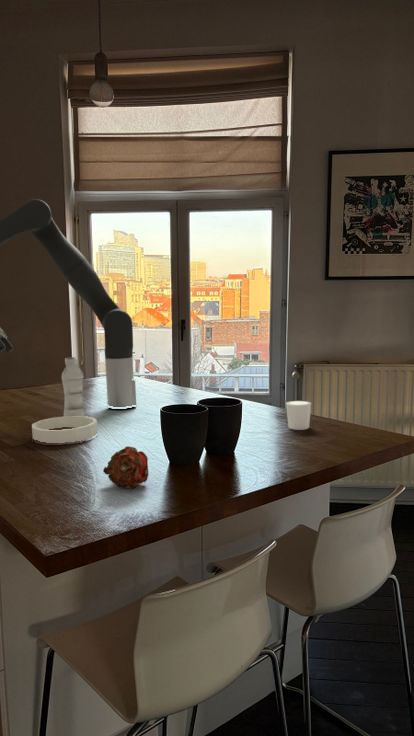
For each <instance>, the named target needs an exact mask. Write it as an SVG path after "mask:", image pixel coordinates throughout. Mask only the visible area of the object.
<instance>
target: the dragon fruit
mask: <svg viewBox="0 0 414 736" xmlns="http://www.w3.org/2000/svg"><path fill="white" fill-rule="evenodd" d="M148 461H149V459H148V455H146V453H144V451H138V449H137V448H136V447H134V446H130V445H129V446H125V447H124V448H122V449H120V450H119V451H116V452H115V453H113V455H112V456H111V457H110V460H109V461H108V462H107V465H106V466H104V468H103V473H104V475H107V476H108V479H109V481H111V483H113V484H114V485H116V486H117V487H122V488H124V489H130V490H133V489H135V488H136V487H137V486H138V485H141V484H143V483H144V484H145V483H146V482H147V480H148V478H149V464H148V463H149V462H148Z"/></svg>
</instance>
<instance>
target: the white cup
mask: <svg viewBox="0 0 414 736" xmlns="http://www.w3.org/2000/svg"><path fill="white" fill-rule="evenodd" d="M285 406H286V415H287V425H288V428H289V429H291V430H295V431H296V430H298V431H302V430H303V431H304V430H307V429H309V428H310V421H311V420H310V419H311V412H312V411H311V409H312V402H311V401H309V400H291V401H287V402H285Z"/></svg>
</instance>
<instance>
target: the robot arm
mask: <svg viewBox="0 0 414 736" xmlns="http://www.w3.org/2000/svg"><path fill="white" fill-rule="evenodd" d="M26 232H30V233H31V234H32V235H33V236H34V237H35V239H36V240H37V241H38V242H39V243H40V244H41V245H42V246H43V248H44V249H45V250H46V252H47V253H48V255H49V257H50V258H51V260H52V261H53V263H54V265H55V266H56V268H57V269H58V270H59V272H60V274H61V275H62V276H63V277H64V279H65V280H66V282H67V283H68V284H69V285H70V286H71V288H72V289H73V291H75V292H76V293H77V295H78V296H79V297H81V299H82V300H83V301H84V302H85V303H86V304H87V305H88V306H89V307H90V309H91V310H92V311H93V313H94V314H95V316H96V318H97V319H98V321H99V323H100V325H101V326H102V328H103V330H104V331H103V333H104V334H103V335H104V362H105V363H104V365H105V379H106V382H105V383H106V397H107V398H106V399H107V403H106V404H107V406H108V405H109V406H113V407H126V406H132V405H136V406H137V393H136V379H135V376H134V359H133V358H134V357H133V355H134V354H133V352H134V351H133V350H134V333H133V331H134V330H133V320H132V318H131V316H130V315H129V313H128V312H126V311H125V310H123V309H121V308H120V307H119V305H117V304H116V302H115V301H114V300H113V299H112V297H110V295H109V294H108V292H107V291H106V289H105V286H104V285H103V283H102V281H101V279H100V277H99V276H98V274H97V272H96V271H95V270H94V267H93V266H92V265H91V263H90V262H89V261H88V260H87V258H86V257H85V256H84V255H83V254H82V253H81V251H80V250H79V249H78V248H77V247H76V246H75V245H74V244H73V243H71V242H70V240H68V238H67V237H66V236H64V234H63V233H62V232H61V230H60V228H59V227H58V225H57V223H56V222H55V221H54V219H53V217H52V210H51V208H50V206H49V205H48V204H47V203H46V202H45V201H43V200H42V199H38V198H32V199H29V200H27V201H26V202H24V203H23V204H22V205H21V206H19V207H18V208H16V209H15V210H13V211H12V212H10V213H9V214H8V215H6V216H5V217H3V218H1V219H0V246H1V245H3V244H4V243H6V242H8V241H10V240H11V239H13V238H14V237H16V236H19V235H20V234H23V233H26ZM3 350H5V351H6V353H10V352H11V351H13V350H14V346H13V345H12V344H11V343H10V341H9V340H8V335H7V334H6V332H5V331H4V330H3V329H2V327H1V326H0V352H3Z"/></svg>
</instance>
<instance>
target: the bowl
mask: <svg viewBox="0 0 414 736" xmlns="http://www.w3.org/2000/svg"><path fill="white" fill-rule="evenodd" d="M62 427H74V428H72V429H62V430H49V429H54V428H62ZM31 431H32V435H31V436H32V440H33V439H34V440H38V441H40V442H46V443H65V442H75V441H81V440H85V439H88V438H92V437H93V436H95V435H96V434H97V433H98V434H99V432H98V431H99V427H98V420H97V419H96V418H95V417H92V416H91V417H90V416H87V415H86V416H64V415H63V416H57V417H56V416H55V417H51V418H46V419H41V420H38V421H36V422H34V423H32V424H31Z"/></svg>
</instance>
